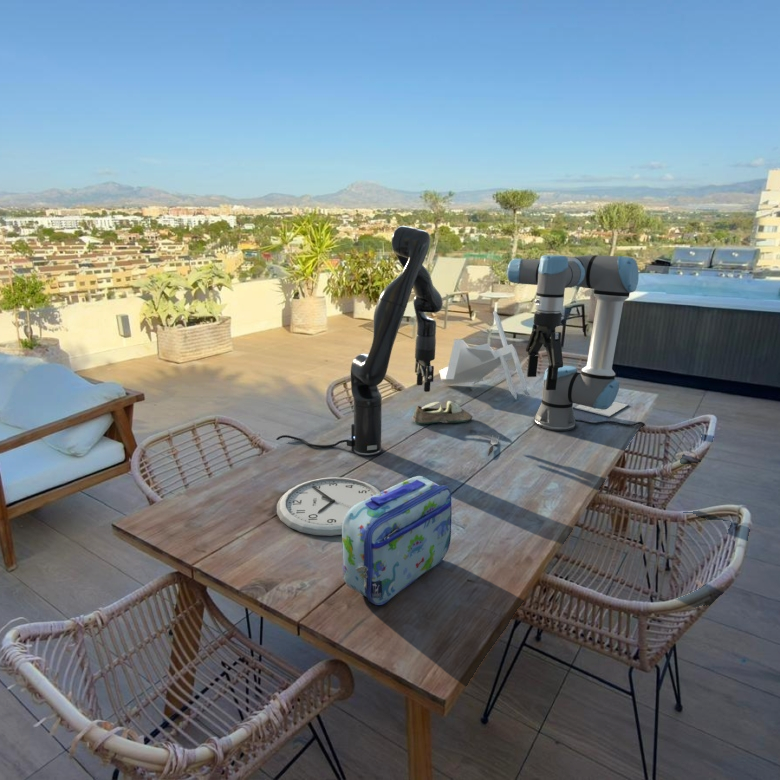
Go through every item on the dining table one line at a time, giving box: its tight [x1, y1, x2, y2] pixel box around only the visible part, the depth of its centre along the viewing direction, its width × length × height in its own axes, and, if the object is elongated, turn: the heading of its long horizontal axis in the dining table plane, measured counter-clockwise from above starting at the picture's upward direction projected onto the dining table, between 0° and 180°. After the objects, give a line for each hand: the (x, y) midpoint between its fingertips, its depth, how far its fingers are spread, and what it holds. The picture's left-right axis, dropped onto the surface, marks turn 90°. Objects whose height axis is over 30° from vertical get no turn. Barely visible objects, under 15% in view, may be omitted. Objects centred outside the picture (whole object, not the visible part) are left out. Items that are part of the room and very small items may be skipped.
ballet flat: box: [412, 400, 474, 425], centre depth 204 cm, size 8×25×8 cm, turn 106°
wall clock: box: [276, 476, 382, 537], centre depth 142 cm, size 30×2×30 cm
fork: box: [487, 436, 500, 456], centre depth 181 cm, size 3×16×2 cm, turn 160°
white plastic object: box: [438, 310, 531, 400], centre depth 245 cm, size 37×45×31 cm
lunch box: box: [341, 475, 453, 606], centre depth 111 cm, size 26×11×21 cm, turn 134°
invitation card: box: [573, 401, 629, 418], centre depth 226 cm, size 21×1×15 cm
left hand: (423, 388), depth 200 cm, fingers open, 8 cm apart
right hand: (540, 382), depth 155 cm, fingers open, 13 cm apart
